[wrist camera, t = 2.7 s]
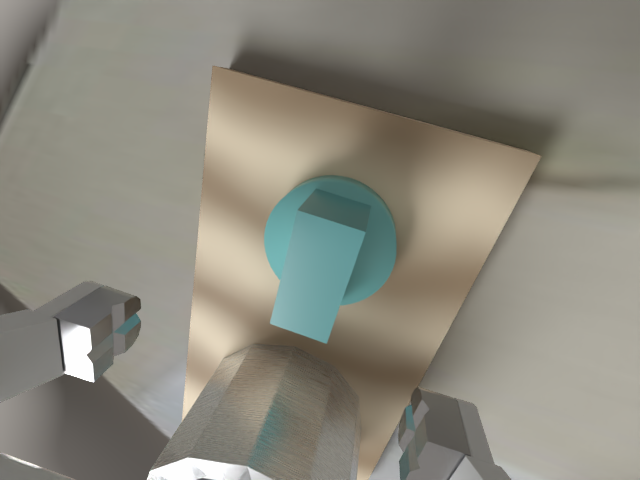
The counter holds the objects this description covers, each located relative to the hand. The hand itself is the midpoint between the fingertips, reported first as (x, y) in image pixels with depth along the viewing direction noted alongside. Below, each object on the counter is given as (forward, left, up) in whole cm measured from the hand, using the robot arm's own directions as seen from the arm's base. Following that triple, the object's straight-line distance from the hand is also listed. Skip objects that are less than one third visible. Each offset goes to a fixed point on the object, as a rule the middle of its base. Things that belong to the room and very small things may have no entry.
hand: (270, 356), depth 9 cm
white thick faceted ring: (+9, +8, -8) cm, 14 cm away
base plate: (+4, +4, -9) cm, 11 cm away
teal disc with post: (-1, 0, -8) cm, 8 cm away
